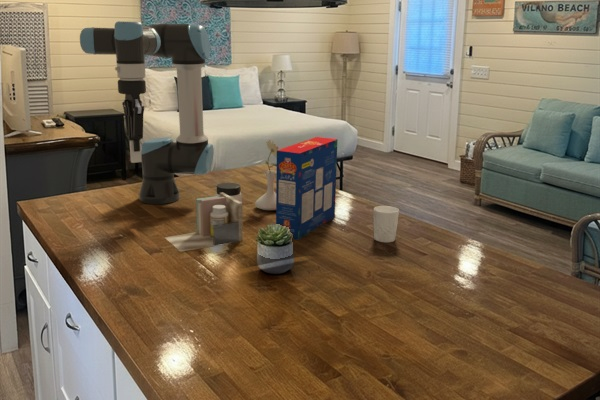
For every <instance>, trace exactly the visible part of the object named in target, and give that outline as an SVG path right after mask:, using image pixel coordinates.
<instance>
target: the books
mask: <svg viewBox="0 0 600 400" xmlns="http://www.w3.org/2000/svg"><path fill="white" fill-rule="evenodd" d="M195 202H196V203H195V205H196V207H195V208H196V210H195V211H196V232H198V233H199V234H200V235H202V236H203V237H204V236H210V235H211V225H210V214H211V212H213V206H214V205H224V206H225V207H226V197H221V196H216V195H214V196H209V197H208V196H207V197H202V198H201V197H199V198H196V199H195Z"/></svg>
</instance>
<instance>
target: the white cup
mask: <svg viewBox="0 0 600 400" xmlns="http://www.w3.org/2000/svg"><path fill="white" fill-rule="evenodd" d="M399 212H400V209H399V208H398V207H395V206H391V205H390V206H389V205H378V206H375V207H374V208H373V240H375V241H376V242H380V243H392V242H395V240H396V234H397V229H398V221H399V214H400V213H399Z"/></svg>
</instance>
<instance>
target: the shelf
mask: <svg viewBox="0 0 600 400" xmlns="http://www.w3.org/2000/svg"><path fill="white" fill-rule="evenodd" d="M220 196H221V197H226V212H228V222H229V223H231V222H239V241H238V242H242V241H243V239H244V238H243V202H242V203H241V202H239V201H238V200H236V199H234V198H232V197H230V196H229V195H227V194H225V193H223V192H221V193H220ZM164 239H165V240H167V241H168V242H169V243H170V244H171V245H172V246H174V248H175V249H177V250H178V251H179V252H181V253H182V252H183V253H184V252H187V251H193V250H199V249H203V248H210V247H215V246H217V245H213V239H212V238H211V235H210V236H204V237H203V236H202V235H200V234H199V233H198V232H197V231H196V232H189V233H183V234H177V235H172V236H165V237H164ZM233 243H234V242H232V243H231V244H233ZM226 244H228V243H226ZM226 244H225V245H226ZM222 245H223V244H221V246H222Z"/></svg>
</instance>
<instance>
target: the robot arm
mask: <svg viewBox="0 0 600 400" xmlns="http://www.w3.org/2000/svg"><path fill="white" fill-rule="evenodd" d="M210 41H211V40H210V37H209V35H208V32H207V30H206V28H205V27H204V26H203V25H201V24H194V23H158V24H157V23H156V24H150V25H149V24H148V25H143V24H142V22H140V21H116V22H115V23H114V27H113V28H112V27H85V28H82V30H81V31H80V33H79V44H80V47H81V49H82V52H84V53H85V54H88V55H115V57H116V66H115V68H114V70H115V71H116V72H117V74H116V75H117V78H118V80H117V92H118V93H119V94H121V95H124V99H123V101H122V103H121V104H122V108H123V115H124V123H125V129H126V136H128V141H129V151H130V152H129V153H130V154H129V155H130V163H132V164H133V163H134V164H135V163H141V169H142V182H141V185H140V189H139V193H138V200H139V202H141V203H144V204H148V205H164V204H170V203H173V202H177V201H178V200H180V191H179V189H178V186H177V183H176V180H175V174H179V175H194V176H197V175H201V176H202V175H203V176H204V175H207V174H208V172H210V170H211V168H212V165H213V161H214V153H215V152H214V151H215V148H214V145H213V144H211V143H209V138H208V137H207V136H206V135H205V133H204V132H205V131H204V115H203V114H204V112H203V111H204V110H203V108H204V107H203V80H202V68H203V67H204V65H206V60H208V59H209V58H210V56H211V43H210ZM145 56H148V57H149V56H151V57H156V58H162V59H165V58H166V59H171V64H172V66H174V67H175V68H176V78H177V79H176V82H177V83H176V84H177V98H178V99H177V100H178V102H177V103H178V119H179V121H178V123H179V135H178V136H177V137H176V139H175V140H176V142H175V141H174V140H173V138H172V137H156V138H152V139H148V140H144V141H143V142H142V143H141V140H142V139H144V136H143V135H144V113H145V106H144V105H143V104H142V103H143V102H142V100H141V95H143V94H144V95H145V93H146V92H147V88H146V85H147V84H146V80H145V78H146V65H145V64H146V62H145ZM142 105H143V106H142Z"/></svg>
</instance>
